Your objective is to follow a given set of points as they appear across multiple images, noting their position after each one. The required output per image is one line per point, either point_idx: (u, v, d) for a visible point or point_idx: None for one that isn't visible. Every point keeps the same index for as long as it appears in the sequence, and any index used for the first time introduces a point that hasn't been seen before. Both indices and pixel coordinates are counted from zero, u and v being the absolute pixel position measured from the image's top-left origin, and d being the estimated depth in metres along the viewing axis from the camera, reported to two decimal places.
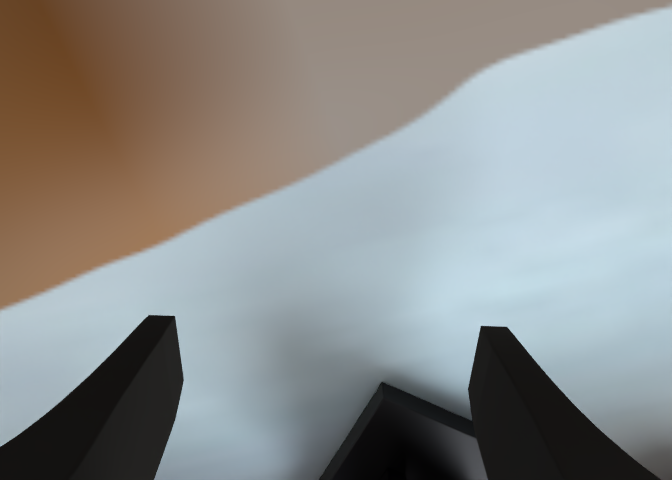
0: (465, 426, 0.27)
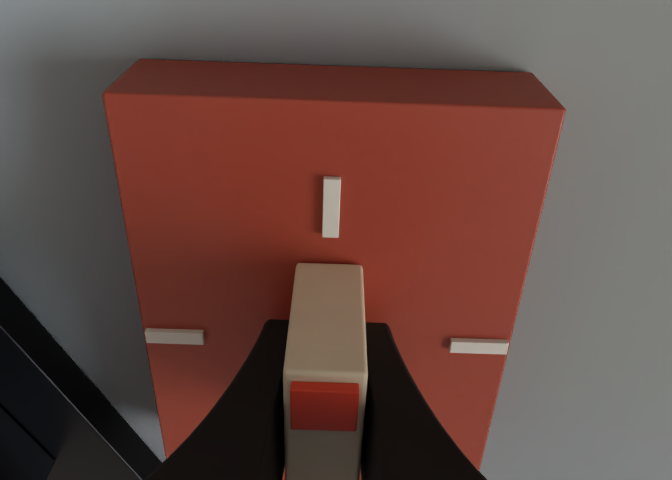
0: None
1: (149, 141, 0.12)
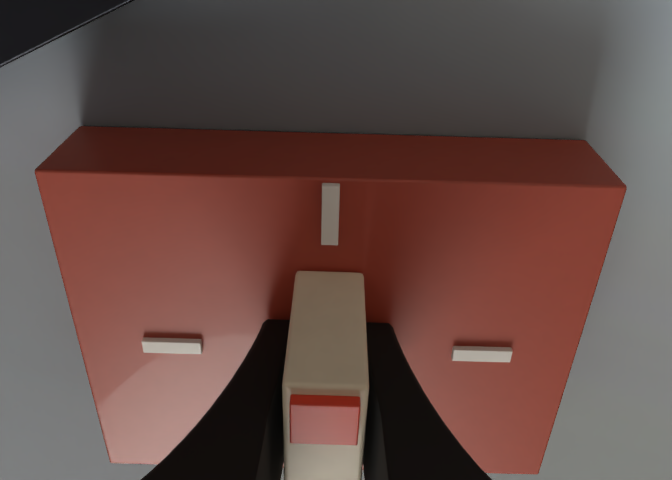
0: None
1: (571, 219, 0.13)
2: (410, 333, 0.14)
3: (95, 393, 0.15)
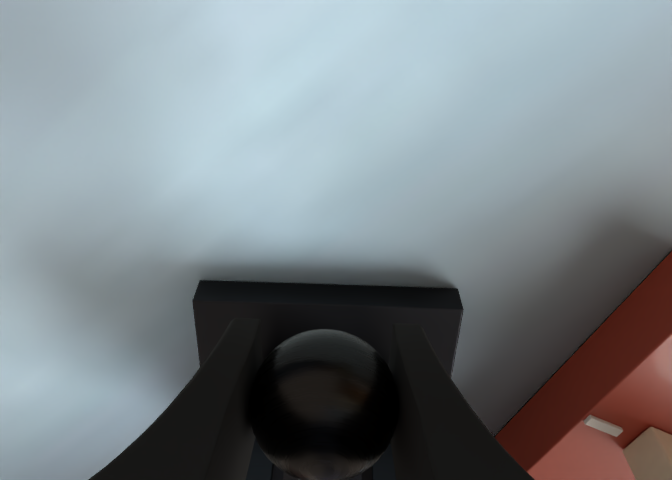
0: (321, 294, 0.20)
1: None
2: None
3: None
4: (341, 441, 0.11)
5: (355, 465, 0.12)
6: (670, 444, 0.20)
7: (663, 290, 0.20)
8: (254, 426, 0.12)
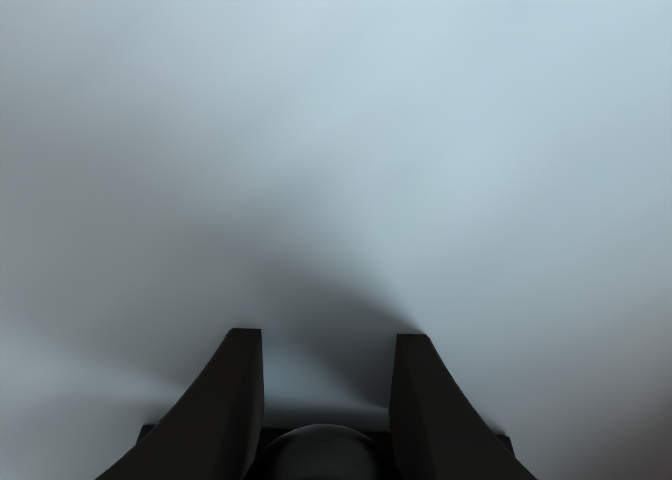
0: None
1: None
2: None
3: None
4: None
5: None
6: None
7: None
8: None
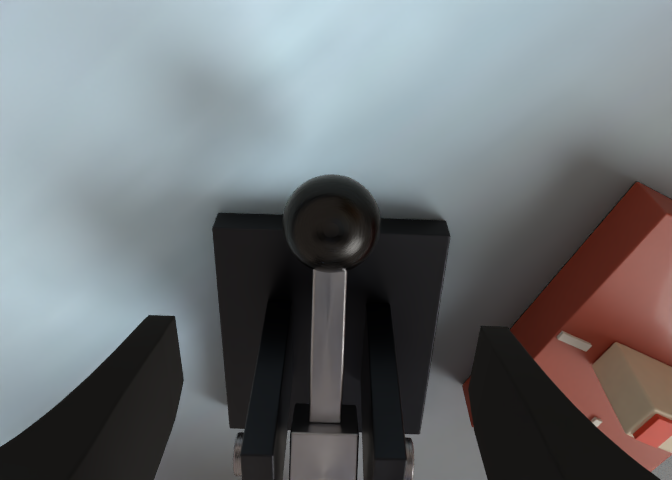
0: None
1: (664, 243, 0.21)
2: None
3: None
4: (344, 207, 0.18)
5: (353, 228, 0.18)
6: (632, 356, 0.23)
7: (625, 218, 0.22)
8: (286, 219, 0.19)
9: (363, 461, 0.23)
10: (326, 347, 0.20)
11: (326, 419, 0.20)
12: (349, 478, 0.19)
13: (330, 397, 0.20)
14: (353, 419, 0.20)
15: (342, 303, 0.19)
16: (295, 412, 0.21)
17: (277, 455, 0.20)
